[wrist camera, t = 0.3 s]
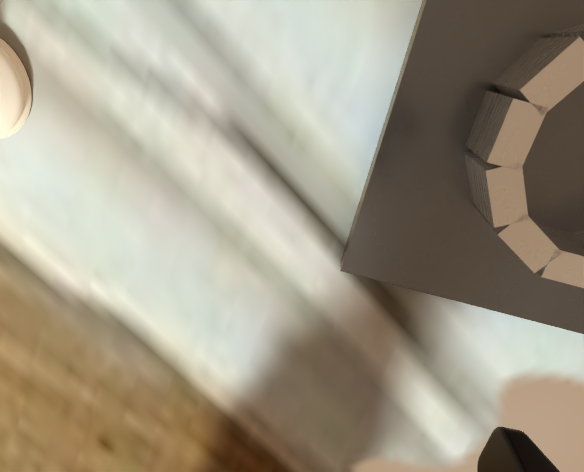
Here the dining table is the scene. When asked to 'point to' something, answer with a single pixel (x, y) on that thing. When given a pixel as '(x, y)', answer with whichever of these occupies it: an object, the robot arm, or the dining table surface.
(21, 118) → the chess piece
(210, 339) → the dining table surface
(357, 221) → the lens mount
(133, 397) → the dining table surface
